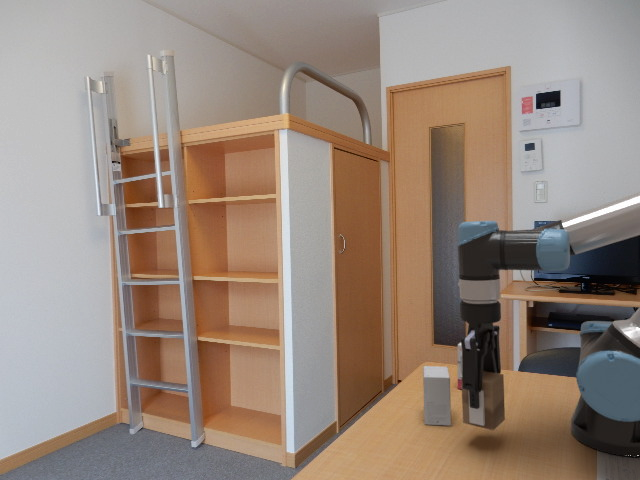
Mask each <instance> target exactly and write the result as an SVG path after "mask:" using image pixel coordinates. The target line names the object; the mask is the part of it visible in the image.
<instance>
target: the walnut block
mask: <svg viewBox="0 0 640 480" xmlns="http://www.w3.org/2000/svg"><path fill="white" fill-rule="evenodd" d="M461 380H462V377H461ZM504 383H505V382H504V374H502V373H500V374H498V373H492V372H487V371H483V376H482V388H481V390H483V391H484V413H485V425H484V426H482V425H478V424H474V423H470V421H469V393H468V390H465V389H463V384H462V390H461V403H462V404H461V405H462V423H463V424H466V425H469V426H473V427H479V428H481V429H485V430H490V431H495V430H496V429H497V428H498V427H499V426H500V425H501V424H502V423H503V422H504V421H505V420H506V414H505V410H506V409H505V384H504Z"/></svg>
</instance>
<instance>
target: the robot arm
mask: <svg viewBox="0 0 640 480" xmlns="http://www.w3.org/2000/svg"><path fill="white" fill-rule="evenodd" d="M638 236H640V191H638V192H636V193H633V194H631V195H628V196H625V197H623V198H619V199H616V200H614V201H610V202H608V203H604V204H602V205H600V206H597V207H594V208H591V209H588V210H585V211H581V212H579V213H576V214H574V215H573V214H572V215H571V216H567V217H564V218H561V219H560V220H556V221H554V222H549V223H547V224H545V225H542V226H538V227H534V228H533V229H518V230H506V229H505V230H504V229H500V227H499V224H498V222H497V221H495V220H477V221H476V220H475V221H463V222H461V223H460V224H459V225H458V228H457V245H456V247H457V257H458V273H459V275H458V277H459V278H458V279H459V280H458V283H457V286H458V288H459V298H460V299H461V301H460V302H459V311H460V314H459V316H460V317H459V318H460V319H461V321H463V322H466V323H467V325H468V326H467V327H468V328H467V336H466V337H465V336H461V338H460V342H461V345H462V384H463V389H465V390H468V393H469V421H470V423H474V424H478V425H482V426H484V425H485V413H484V391H483V390H481V388H482V376H483V371H487V372H492V373H498V374H502V373H501V372H502V366H501V354H500V353H501V349H500V325H496V324H495V323H498V322H500V321H501V318H502V307H501V306H502V305H501V302H500V301H499V300H500V299H501V296H502V294H501V279H500V277H501V276H500V271H544V272H551V271H553V272H554V271H566V270H568V268H569V267H570V262H571V257H572V256H575V255H578V254H582V253H586V252H587V251H592V250H595V249H599V248H601V247H604V246H607V245H610V244H614V243H618V242H621V241H624V240H628V239H630V238H631V239H632V238H634V237H638ZM494 324H495V325H494ZM579 337H580V355H579V360H578V366H577V369H576V373H575V379H576V385H577V387H578V390H579V391H578V392H579V393H580V396H579V398H578V401H577V404H576V406H575V409H574V412H573V414H572V417H571V420H570V426H571V427H570V432H571V434H572V437H574V438H575V439H576V440H577V441H578V442H581V443H582V444H583V445H585V446H587V447H590V448H592V449H595V450H597V451H601V452H604V453H607V454H612V455H615V454H616V456H621V455H627V456H626V457H629V456H630V455H631V456H637V455H639V456H640V307H638V309H636V310H635V312H634V313H633V314H632V315H631V317H630V318H628V319H622V320H621V319H619V320H614V321H605V320H603V321H602V320H590V321H589V320H588V321H584V322H583V323H581V326H580V332H579ZM477 349H479V350H477ZM628 455H629V456H628Z"/></svg>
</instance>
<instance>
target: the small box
mask: <svg viewBox="0 0 640 480" xmlns="http://www.w3.org/2000/svg"><path fill="white" fill-rule="evenodd" d="M422 366H423V365H422ZM422 381H423V382H422V383H423V385H422V386H423V414H424V424H425V425H430V426H431V425H432V426H449V427H450V426H451V425H452V409H451V407H452V405H451V399H452V398H451V375H450V373H449V369H448V366H438V365H437V366H434V365H433V366H432V365H430V366H429V365H424V366H423V367H422Z"/></svg>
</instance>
